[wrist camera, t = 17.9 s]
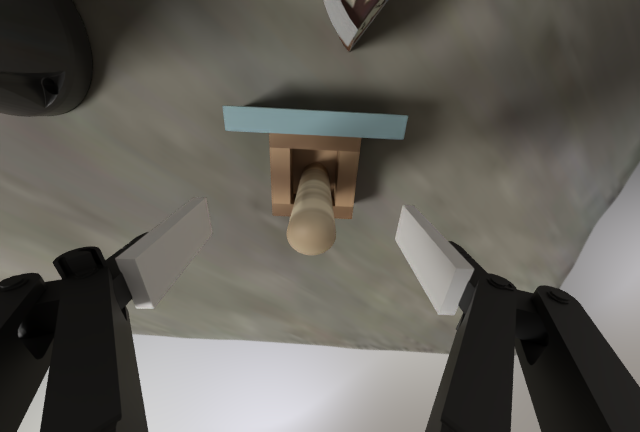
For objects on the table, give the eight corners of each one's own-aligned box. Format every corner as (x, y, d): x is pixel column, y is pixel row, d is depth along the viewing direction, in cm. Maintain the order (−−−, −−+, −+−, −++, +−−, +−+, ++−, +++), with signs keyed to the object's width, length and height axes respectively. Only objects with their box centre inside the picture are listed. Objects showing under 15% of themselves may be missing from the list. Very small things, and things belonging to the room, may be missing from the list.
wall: (243, 106, 25) (222, 105, 20) (389, 113, 25) (408, 115, 20) (245, 125, 26) (225, 130, 20) (386, 133, 26) (403, 139, 21)
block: (276, 128, 26) (268, 131, 22) (355, 132, 26) (361, 136, 22) (278, 202, 30) (272, 215, 26) (347, 205, 30) (351, 219, 26)
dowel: (302, 162, 27) (286, 211, 14) (329, 163, 27) (337, 213, 14) (301, 188, 28) (287, 254, 16) (327, 189, 28) (334, 255, 16)
